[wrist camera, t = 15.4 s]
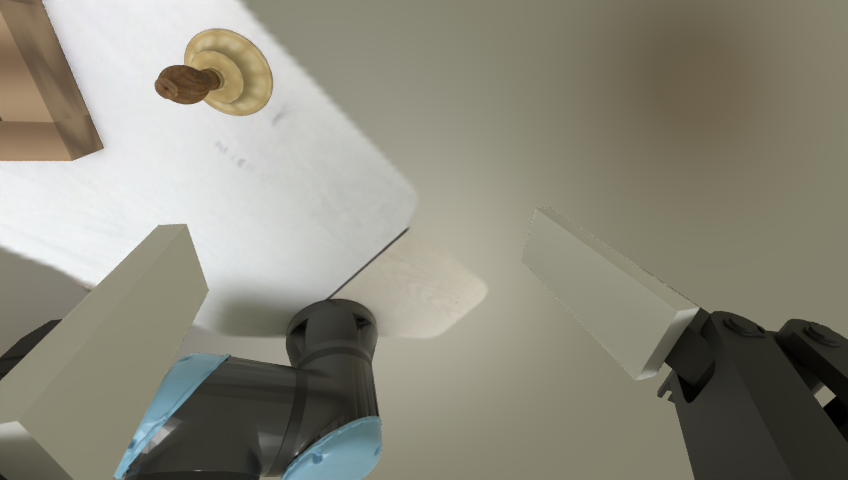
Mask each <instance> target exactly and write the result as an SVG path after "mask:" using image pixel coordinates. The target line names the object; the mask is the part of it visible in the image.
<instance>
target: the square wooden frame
mask: <svg viewBox="0 0 848 480" xmlns="http://www.w3.org/2000/svg"><path fill="white" fill-rule="evenodd" d="M101 149H103V145H102V143H101V141H100V138H99V136H98V134H97V131H96V129H95V126H94V124H93V122H92V119H91V117H90V115H89V112H88V110H87V108H86V105H85V103H84V100H83V98H82V96H81V93H80V91H79V89H78V86H77V84H76V82H75V79H74V77H73V75H72V72H71V70H70V67H69V65H68V63H67V60H66V58H65V56H64V53H63V51H62V49H61V46H60V44H59V41H58V39H57V37H56V34H55V32H54V30H53V27H52V25H51V23H50V20H49V18H48V15H47V13H46V11H45V8H44V6H43V4H42V1H41V0H0V161H73V160H76V159H78V158H81V157H83V156H86V155H88V154H91V153H93V152H96V151H98V150H101Z"/></svg>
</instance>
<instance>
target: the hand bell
mask: <svg viewBox="0 0 848 480" xmlns="http://www.w3.org/2000/svg"><path fill="white" fill-rule="evenodd" d="M272 88H273V80H272V74H271V70H270V67H269V65H268V63H267V61H266V59H265V57H264V56H263V54H262V53H261V52H260V50H259V49H258V48H257V47H256V46H255V45H254V44H253V43H251V42H250V41H249V40H248V39H246V38H245V37H243V36H241V35H240V34H237V33H235V32H233V31H229V30H225V29H209V30H205V31H202V32H200V33H198V34H197V35H196V36H194V37H193V38H192V39H191V41H190V42H189V44H188V45H187V48H186V51H185V56H184V65H174V66H169V67H167V68H165V69H164V70H163V71H162V72H161V73H160V75H159V77H158V79H157V80H156V82H155V90H156V92H157V93H158V94H159V95H160V96H162V97H163V98H165V99H170V100H172V101H174V102H176V103H180V104H194V103H197V102H200V101H202V100H204V101H205V102H206V103H207V104H209V105H210V106H212V107H213V108H215V109H217V110H219V111H221V112H223V113H226V114H231V115H237V116H243V115H250V114H253V113H255V112H257V111H259V110H260V109H262V108H263V107H264V106H265V105H266V103H267V102H268V101H269V99H270V96H271V93H272Z"/></svg>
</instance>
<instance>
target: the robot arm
mask: <svg viewBox="0 0 848 480" xmlns="http://www.w3.org/2000/svg"><path fill="white" fill-rule="evenodd" d="M521 261H522V262H523V263H524V264H525V265H526V266H527V268H529V270H530V271H531V272H532V273H533V274H534V275H535V276H536V277H537V278H538V279H539V280H540V281H541V282H542V283H543V284H544V285H545V286H546V287H547V288H548V290H549V291H550V292H551V293H552V294H553V295H554V296H555V297H556V298H557V299H558V300H559V301H560V302H561V303H562V304H563V305H564V306H565V307H566V308H567V309H568V311H569V312H571V314H572V315H573V316H574V317H575V318H576V319H577V320H578V321H579V322H580V323H581V324H582V325H583V326H584V327H585V328H586V329H587V330H588V331H589V332H590V333H591V334H592V336H593V337H594V338H596V340H597V341H598V342H599V343H600V344H601V345H602V346H603V347H604V348H605V349H606V350H607V351H608V352H609V353H610V355H612V357H613V358H614V359H615V360H616V361H617V362H618V363H619V364H620V365H621V366H622V367H623V368H624V369H625V370H626V371H627V372H628V373H629V374H630V375H631V377H632V378H633V379H634V380H640V379H645V378H649V377H653V376H655V375H656V374H657V372H658V371H659V369H660V368H661V366H662V364H663V363H664V362H665V363H666V364H668V365H669V366H670V367H671V368H672V371H671V372H670V374H669V375H668V377H667V378H666V380H665V381H664V383H663V384H662V386H661V387H660V388H659V390H658V394H657V396H658V397H660V398H662V397H663V395H664V394H665V392H666V391H667V390H669V391H672V394H671V395H670V396H669V398H668V401H671V402H673V403H675V407H676V410H677V414H678V418H679V421H680V426H681V429H682V433H683V437H684V440H685V444H686V448H687V452H688V455H689V460H690V463H691V467H692V470H693V475H694V478H695V480H848V339H846V338H844V337H843V336H841V335H840V334H838V333H836V332H834V331H832V330H831V329H830V328H828V327H826V326H823V325H820V324H818V323H815V322H809V321H805V320H801V319H791V320H788V321H787V322H786V323H785V325H784V326H783V327H782V328H781V329H780V331H779V332H774V331H766V330H765V329H764V328H762V327H761V326H759V325H757V324H756V323H754V322H752V321H750V320H748V319H746V318H744V317H741V316H739V315H736V314H733V313H729V312H724V311H714V312H713V313H711V314H710V313H708V312H707V311H705V310H704V309H702V308H701V307H699V306H698V305H696V304H695V303H693V302H692V301H690V300H689V299H687V298H685V297H684V296H683V295H681V294H680V293H678V292H677V291H675V290H674V289H672V288H671V287H669V286H667V285H665V284H664V283H663V282H662V281H660V280H659V279H657V278H655V277H654V276H653V275H651V274H650V273H648V272H647V271H645V270H644V269H642V268H641V267H639V266H637V265H636V264H634V263H633V262H631V261H630V260H628V259H627V258H625V257H623V256H622V255H621V254H619V253H618V252H616V251H615V250H613V249H612V248H610V247H609V246H607V245H606V244H604V243H603V242H601V241H599V240H598V239H597V238H595V237H594V236H592V235H591V234H589V233H588V232H586V231H585V230H583V229H582V228H580V227H579V226H577V225H576V224H574V223H573V222H571V221H570V220H568V219H567V218H565V217H564V216H562V215H561V214H559V213H558V212H556V211H555V210H553V209H552V208H536V209H535V212H534V216H533V219H532V223H531V227H530V231H529V234H528V238H527V242H526V245H525V250H524V253H523V257H522V260H521ZM208 291H209V290H208V287H207V284H206V281H205V278H204V275H203V272H202V269H201V266H200V263H199V260H198V257H197V254H196V251H195V248H194V245H193V242H192V239H191V236H190V233H189V230H188V227H187V224H172V225H158V226H157V227H156V228H155V229H154V230H153V231H152V232H151V233H150V234H149V235H148V236H147V237H146V238H145V239H144V240H143V241H142V242H141V243H140V244H139V245H138V246H137V247H136V248H135V249H134V250H133V251H132V252H131V253H130V254H129V255H128V256H127V257H126V258H125V259H124V260H123V261H122V262H121V263H120V264H119V265H118V266H117V267H116V268H115V269H114V270H113V271H112V272H111V273H110V274H109V275H107V276H106V277H105V278H104V279H103V280H102V281H101V282H100V283H99V284H98V285H97V286H96V287H95V288H94V289H93V290H92V291H91V292H90V293H89V294H88V295H87V296H86V297H85V298H84V299H83V300H82V301H81V302H80V303H79V304H78V305H77V306H76V307H75V308H74V309H73V310H72V311H71V312H70V313H69V314H68V315H67V316H66V317H65V318H64V319H60V320H51V321H49V322H48V323H47V324H44V325H43V326H41V327H39V328H38V329H36V330H34V331H33V332H31V333H29V334H28V335H26V336H25V337H23V338H21V339H20V340H19V341H18V342H17V343H16V344H15V345H14V346H13V347H11V348H10V349H9V350H8V351H7V352H6V353H5V354H4V355H3V356H2V357H0V480H111V479H112V478H113V476H114V477H116V479H122V478H123V477H125V479H124V480H259V478H260V477H261V476H263V477H281V480H361V479H363V478H364V477H365V476H366V475H367V474H368V473H369V472H370V471H371V470H372V469H373V468H374V467H375V465H376V463H377V462H378V460H379V458H380V456H381V452H382V436H381V425H382V424H381V419H380V417H379V410H378V404H377V397H376V390H375V384H374V377H373V371H372V359H373V355H374V351H375V346H376V342H377V328H376V322H375V319H374V317H373V315H372V314H371V313H370V311H369V310H367V309H366V308H365V307H363V306H362V305H360V304H358V303H355V302H352V301H348V300H326V301H322V302H318V303H315V304H313V305H310V306H308V307H306V308H305V309H303V310H302V311H300V312H299V313H298V314H297V315H296V316H295V317H294V318H293V320H292V321H291V323H290V325H289V327H288V331H287V337H286V350H287V353H288V356H289V359H290V362H291V365H292V367H291V366H284V365H278V364H272V363H265V362H258V361H254V360H248V359H242V358H237V357H231V355H228V354H227V355H224V356H222V355H213V354H204V353H192V354H189V355H186V356H184V357H182V358H181V359H180V360H178V361H177V362H176V363H175V364H174V365H173V366H172V367H171V369H170V370H169V371H168V369H169V367H170V365H171V363H172V361H173V359H174V357H175V355H176V353H177V351H178V349H179V347H180V345H181V344H182V342H183V340H184V337H185V336H186V334H187V332H188V330H189V328H190V326H191V324H192V322H193V320H194V318H195V316H196V314H197V312H198V311H199V309H200V307H201V305H202V303H203V301H204V299H205V297H206V295H207V293H208ZM167 371H168V373H167ZM166 373H167V374H166ZM825 385H826V386H827V387H828V388H829V389H830V390H831V391H832V392H833V393H834V394H835V395H836V397H835V398H834V399H832V400H831V401H830V402H829V403H828V404H827V405H826V406H824V407H823V408H822V406H821V405H820V404H819V402H818V401H817V399H816V398H815V397H814V395H815V394H816V393H817V392H818V391H819V390H820V389H821V388H822V387H823V386H825Z"/></svg>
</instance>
